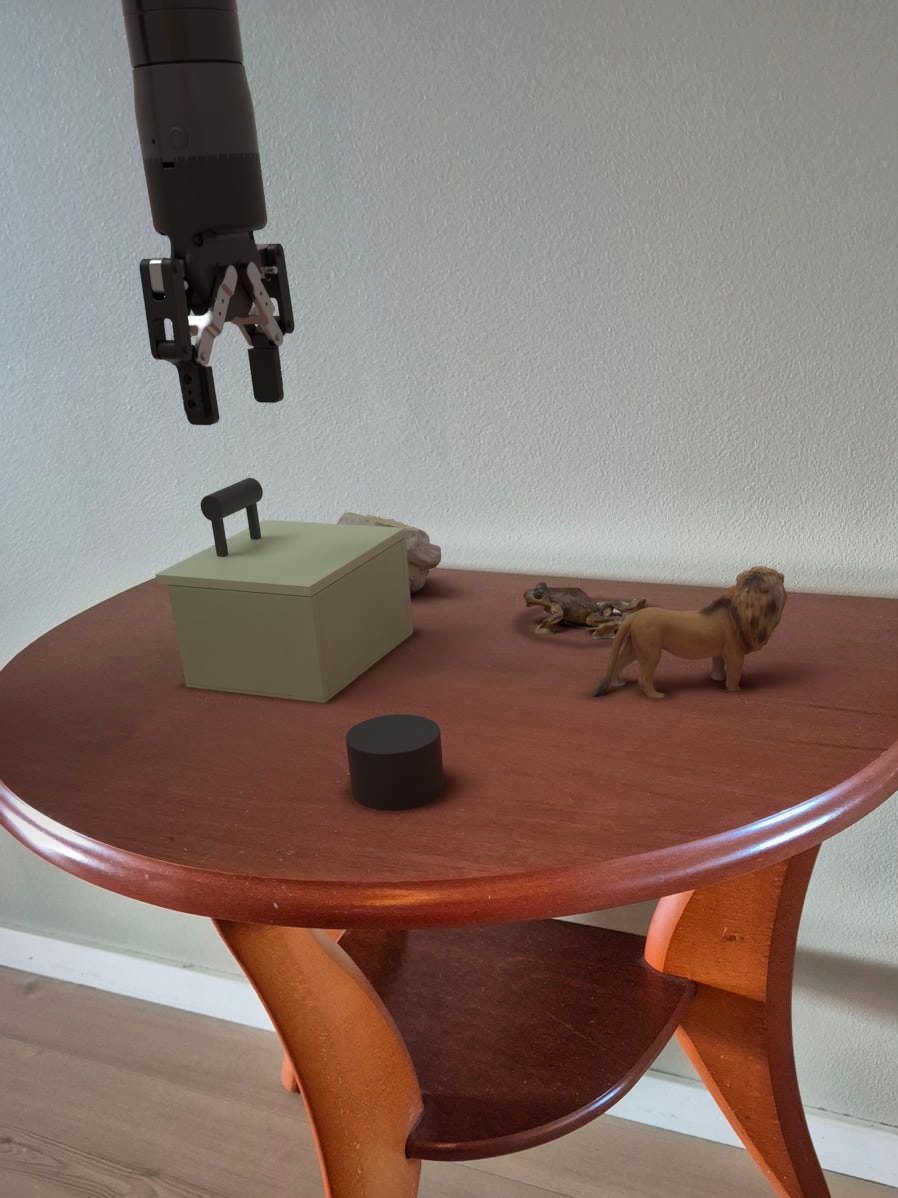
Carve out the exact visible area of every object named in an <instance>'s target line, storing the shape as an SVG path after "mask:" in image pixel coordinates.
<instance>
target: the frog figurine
mask: <svg viewBox="0 0 898 1198" xmlns="http://www.w3.org/2000/svg"><path fill="white" fill-rule="evenodd" d="M522 597H523V599H524V601H525V607H526V608H532V607H535V606H536V607H537V606H540V607H543V610H544V611H543V613H544V614H547V615H551V616H549V617H547V618H544V619H543V620H542V622H541V623H540V624H539V625H538V626H536V628H535V630H534V633H535V634H539V635H549V634H554V633H556V628H555V627H554V625H557V624H558V623H560V622H561V621H562V620H563V622H564V624H565V625H567V626H570V627H573V628H577V629H585V631H593V633H592V634H591V639H593V640H599V639H614V638H615V636H616V633H615V631H616V630H617V628H619V627H618V626H619V624H620V625H621V624H622V623H623V621H624V620H625V619H626V618H627V617H628V616H629V615H631V614H632V613H634V612H636V611H639V610H642V609H645V608H649V606H648V603H647V599H646V598H645V597H643V596H639V597H636V598H631V599H630V600H629V602H625V601H621V600H606V601H597V600H593V598H591V597H590V596H589V595H588V593H587V592H586V591H583V590H582V588H580V587H573V586H572V587H570V586H569V587H567V586H566V587H565V586H564V587H547V582H544V581H543V582H542V581H541V582H538V583H537V584H536V585H535V587H534V588H527V589H525V591H523V594H522ZM614 613H620V614H622V615H621V616H620V615H614Z"/></svg>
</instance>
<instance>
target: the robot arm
mask: <svg viewBox="0 0 898 1198" xmlns="http://www.w3.org/2000/svg"><path fill="white" fill-rule="evenodd" d="M120 3H121V10H122V16H123V24H124V29H125V30H124V31H125V36H126V42H127V48H128V55H129V59H130V67H131V68H132V70H131V74H132V81H133V82H132V83H133V102H134V103H133V104H134V116H135V122H136V128H137V135H138V141H139V147H140V152H141V159H142V165H143V171H144V175H145V184H146V188H147V196H148V200H149V206H150V213H151V219H152V226H153V229H154V230H155V232H156V233H157V234H158V235H160V236H164V237H167V238H168V240H169V243H170V257H152V258H142V259H141V260H140V261H139V265H138V266H139V267H138V268H139V275H140V282H141V290H142V298H143V304H144V312H145V318H146V326H147V334H148V341H149V348H150V354H151V356H152V357H153V359H154V360H157V361H166V362H168V363H170V364H171V365H172V366H175V368H176V370H177V375H178V380H179V386H180V387H179V388H180V391H181V392H180V393H181V398H182V403H183V411H184V413H185V415H186V418H187V421H188V423H189V424H191V425H193V426H212V425H215V424H217V423H218V422H220V410H219V404H218V399H217V391H216V386H215V385H216V384H215V378H214V372H213V366H212V365H209V363H210V359H211V355H212V351H213V346H214V342H215V339H216V337H218V336H221V334H222V332H223V330H224V326H225V325H224V324H225V323H231V324H233V325H235V326H237V327H238V329H239V331H240V332H241V335H242V336H243V338H244V340H245V341H246V343H247V345H248V346H250V348H247V355H248V363H249V371H250V378H251V385H252V391H253V392H252V393H253V398H254V400H255V401H256V402H258V403H260V404H261V403H262V404H277V403H279V402H282V401H283V400H284V398H285V393H284V381H283V376H282V375H283V371H282V364H281V357H280V356H281V355H280V347H281V346H282V345H283V342H284V336H286V335H287V334H293V333H294V331H295V327H296V326H295V325H296V324H295V318H294V311H293V310H294V309H293V304H292V303H293V302H292V297H291V291H290V283H289V277H288V270H287V262H286V256H285V255H286V254H285V250H284V247H283V245H282V244H281V243H256V239H255V235H254V232H255V231H261V230H263V229H264V228H265V227H266V226H267V224H268V212H267V205H266V204H267V203H266V197H265V196H266V195H265V189H264V188H265V187H264V181H263V172H262V163H261V155H260V146H259V140H258V131H257V122H256V114H255V110H254V109H255V107H254V102H253V97H252V93H251V90H250V86H249V81H248V77H247V72H246V66H245V65H244V63H245V60H244V59H245V58H244V51H243V43H242V34H241V27H240V18H239V8H238V2H237V0H120ZM272 299H274V300H275V301H276V303H277V311H278V315H274V313H275V310H276V308H275V307H276V306H275V305H274V303H273V301H272ZM191 312H192V314H193V315H191ZM166 319H167V320H169V324H170V326H171V327H172V328H171V329H172V336H171V339H167V334H166V333H167V332H166V326H165V320H166ZM193 337H196V339H195V343H194V344H192V338H193Z"/></svg>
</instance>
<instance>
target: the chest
mask: <svg viewBox="0 0 898 1198" xmlns="http://www.w3.org/2000/svg"><path fill="white" fill-rule="evenodd" d="M167 592H168V596H169V602H170V607H171V612H172V618H173V623H174V628H175V635H176V639H177V646H178V650H179V655H180V660H181V666H182V671H183V676H184V682H185V687H186V688H194V689H202V690H211V691H217V692H219V691H220V692H228V693H237V694H243V695H244V694H245V695H254V696H261V697H270V698H271V697H272V698H279V699H287V700H295V701H305V702H312V703H313V702H314V703H321V704H325V703H327V702H328V701H329V700H331V699H332V698H333V697H334V696H336V695H337V694H338V693H339V692H340V691H342V690H343V689H344V688H346V687H347V686H348V685H350V684H351V683H352V682H353V681H354V680H356V679H357V678H359V676H361V675H362V674H364V673H365V672H366V671H367V670H368V669H370V668H371V667H373V665H374V664H376V663H377V662H379V661H380V660H381V659H382V658H383V657H385V656H386V655H387V654H389V653H390V652H391V651H392V650H393V649H395V648H396V647H397V646H399V644H401V643H402V642H404V641H405V640H406V639H408V638H410V636H411V635H413V633H414V625H413V614H412V613H413V612H412V601H411V600H412V599H411V593H410V588H409V575H408V563H407V551H406V539H405V538H403V539H402V540H400V541H398V542H397V543H395V544H394V545H392V546H391V547H389V548H387V549H386V550H384V551H383V552H381V553H379V554H378V555H376V556H375V557H373V558H372V559H370V560H368V561H367V562H365V563H364V564H362V565H360V566H359V567H357V568H356V569H354V570H353V571H351V572H349V573H348V574H346V575H345V576H343V577H341V578H340V579H338V580H337V581H335V582H334V583H332V584H330V585H329V586H327V587H326V588H324V589H322V590H321V591H319V592H318V593H316V594H315V595H313V596H311V597H309V596H297V595H284V594H272V593H260V592H248V591H236V590H224V589H212V588H199V587H187V586H175V585H167Z"/></svg>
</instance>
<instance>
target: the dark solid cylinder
mask: <svg viewBox="0 0 898 1198" xmlns="http://www.w3.org/2000/svg"><path fill="white" fill-rule="evenodd" d="M441 733H442V732H441V728H440V725H439V724H438V723H436V722H435V721H434V720H432V719H431V718H428V717H424V716H421V715H414V714H403V713H402V714H401V713H400V714H399V713H398V714H387V715H380V716H376V717H371V718H369V719H366V720H363V721H361V722H358V723H357V724H355V725H353V726H352V727H350V729H348V730H347V732H346V735H345V742H346V744H345V745H346V751H347V752H346V753H347V762H348V770H349V771H348V772H349V779H350V786H351V794H352V797H353V800H355V801H356V802H357V803H358V804H359V805H362V806H363V807H366V808H368V809H372V810H378V811H389V812H390V811H393V812H394V811H404V810H410V809H415V808H419V807H422V806H426V805H428V804H429V803H431V802H433V801H435V800H437V799H438V798H439V797H440V796H441V795H442V794H443V792H444V790H445V775H444V763H443V762H444V760H443V749H442V747H443V746H442V736H441V735H442V734H441Z"/></svg>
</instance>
